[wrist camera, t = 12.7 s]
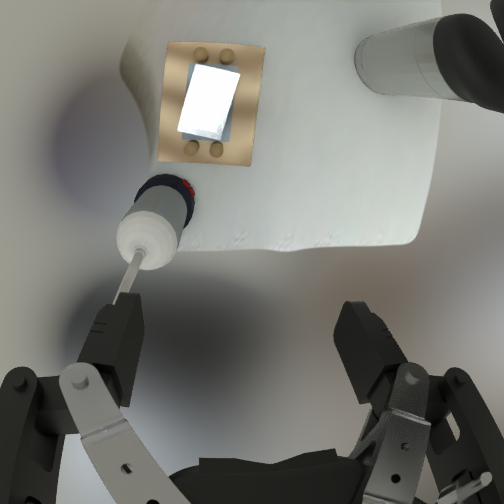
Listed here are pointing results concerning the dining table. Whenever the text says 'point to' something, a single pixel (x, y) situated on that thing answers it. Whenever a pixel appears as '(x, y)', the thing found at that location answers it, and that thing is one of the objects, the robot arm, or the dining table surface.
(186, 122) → the block
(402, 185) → the dining table surface
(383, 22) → the dining table surface
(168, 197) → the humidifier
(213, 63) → the wooden peg board
